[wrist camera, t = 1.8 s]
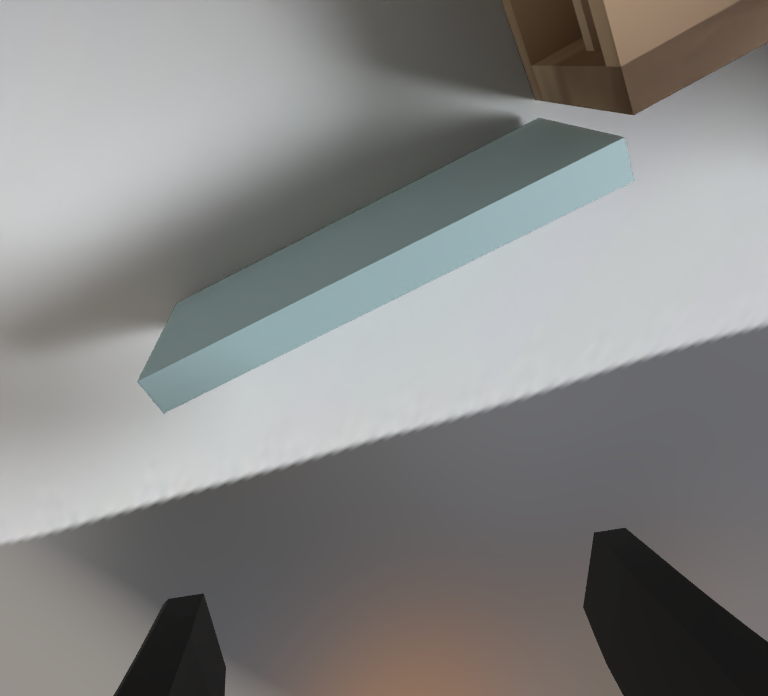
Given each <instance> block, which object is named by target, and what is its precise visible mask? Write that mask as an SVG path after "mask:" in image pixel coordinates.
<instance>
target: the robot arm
mask: <svg viewBox="0 0 768 696" xmlns="http://www.w3.org/2000/svg"><path fill="white" fill-rule="evenodd" d="M583 607H584V610H585V612H586V615H587V617H588V620H589V623H590V625H591V628H592V630H593V633H594V635H595V638H596V640H597V642H598V645H599V647H600V649H601V652H602V654H603V656H604V659H605V661H606V663H607V665H608V667H609V669H610V671H611V673H612V675H613V677H614V679H615V681H616V682H617V684H618V686H619V688H620V690H621V691H622V694H623V695H624V696H768V642H767V641H766V640H764V639H763V638H762V637H760V636H759V635H758V634H756V633H755V632H754V631H752V630H751V629H750V628H748V627H747V626H746V625H744V624H743V623H742V622H741V621H739V620H738V619H737V618H736V617H734V616H733V615H732V614H730V613H729V612H728V611H727V610H725V609H724V608H723V607H721V606H720V605H719V604H718V603H716V602H715V601H714V600H712V599H711V598H710V597H709V596H707V595H706V594H705V593H704V592H703V591H701V590H700V589H699V588H697V587H696V586H695V585H694V584H693V583H691V582H690V581H689V580H688V579H687V578H685V577H684V576H683V575H682V574H680V573H679V572H678V571H677V570H676V569H674V568H673V567H672V566H671V565H670V564H668V563H667V562H666V561H665V560H663V559H662V558H661V557H660V556H659V555H657V554H656V553H655V552H654V551H653V550H651V549H650V548H649V547H648V546H647V545H645V544H644V543H643V542H642V541H640V540H639V539H638V538H637V537H636V536H634V535H633V534H632V533H631V532H629V531H628V530H627V529H626V528H621V529H614V530H608V531H602V532H595V533H594V538H593V544H592V551H591V558H590V565H589V571H588V579H587V586H586V592H585V599H584V606H583ZM225 674H226V666H225V663H224V660H223V657H222V653H221V650H220V646H219V643H218V640H217V637H216V633H215V630H214V627H213V623H212V620H211V616H210V613H209V610H208V607H207V603H206V600H205V597H204V594H198V595H192V596H185V597H178V598H172V599H168V600H167V601H166V602H165V603H164V604H163V606H162V608H161V610H160V612H159V614H158V616H157V618H156V619H155V621H154V623H153V625H152V627H151V629H150V631H149V633H148V635H147V637H146V638H145V640H144V642H143V644H142V646H141V648H140V650H139V651H138V654H137V655H136V657H135V659H134V661H133V662H132V664H131V666H130V668H129V670H128V671H127V673H126V675H125V677H124V678H123V680H122V682H121V684H120V686H119V687H118V689H117V691H116V692H115V694H114V696H225Z"/></svg>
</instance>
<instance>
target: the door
mask: <svg viewBox="0 0 768 696" xmlns="http://www.w3.org/2000/svg"><path fill="white" fill-rule="evenodd" d="M633 181H635V179H634V175H633V171H632V167H631V163H630V158H629V154H628V150H627V146H626V142H625V137H621V136H617V135H612V134H608V133H604V132H599V131H595V130H590V129H586V128H581V127H577V126H573V125H568V124H564V123H559V122H555V121H551V120H546V119H542V118H537V119H536V120H534V121H532V122H530V123H528V124H526V125H524V126H522V127H520V128H518V129H516V130H514V131H512V132H510V133H508V134H506V135H504V136H502V137H500V138H498V139H496V140H494V141H493V142H491V143H489V144H487V145H485V146H483V147H481V148H479V149H477V150H475V151H473V152H471V153H469V154H467V155H465V156H463V157H461V158H459V159H457V160H455V161H453V162H451V163H450V164H448V165H446V166H444V167H442V168H440V169H438V170H436V171H434V172H432V173H430V174H428V175H426V176H424V177H422V178H420V179H418V180H416V181H414V182H412V183H410V184H408V185H407V186H405V187H403V188H401V189H399V190H397V191H395V192H393V193H391V194H389V195H387V196H385V197H383V198H381V199H379V200H377V201H375V202H373V203H371V204H369V205H367V206H365V207H364V208H362V209H360V210H358V211H356V212H354V213H352V214H350V215H348V216H346V217H344V218H342V219H340V220H338V221H336V222H334V223H332V224H330V225H328V226H326V227H324V228H322V229H321V230H319V231H317V232H315V233H313V234H311V235H309V236H307V237H305V238H303V239H301V240H299V241H297V242H295V243H293V244H291V245H289V246H287V247H285V248H283V249H281V250H279V251H278V252H276V253H274V254H272V255H270V256H268V257H266V258H264V259H262V260H260V261H258V262H256V263H254V264H252V265H250V266H248V267H246V268H244V269H242V270H240V271H238V272H236V273H235V274H233V275H231V276H229V277H227V278H225V279H223V280H221V281H219V282H217V283H215V284H213V285H211V286H209V287H207V288H205V289H203V290H201V291H199V292H197V293H195V294H193V295H192V296H190V297H188V298H186V299H184V300H182V301H180V302H178V303H177V304H176V306H175V308H174V310H173V312H172V314H171V316H170V318H169V320H168V322H167V324H166V326H165V328H164V330H163V332H162V333H161V335H160V337H159V339H158V341H157V343H156V345H155V347H154V349H153V351H152V353H151V355H150V357H149V359H148V361H147V363H146V365H145V367H144V369H143V371H142V373H141V375H140V377H139V379H138V381H137V382H138V383H139V384H140V386H141V387H142V388H143V389H144V390H145V392H146V393H147V394H148V395H149V397H150V398H151V399H152V400H153V401H154V403H155V404H156V405H157V406H158V407H159V409H160V410H161V411H162V412H163V413H165V412H167V411H169V410H171V409H173V408H175V407H177V406H179V405H182V404H184V403H186V402H188V401H190V400H192V399H194V398H196V397H198V396H200V395H202V394H204V393H206V392H208V391H210V390H212V389H214V388H216V387H218V386H220V385H222V384H224V383H226V382H228V381H230V380H232V379H234V378H236V377H238V376H240V375H242V374H244V373H246V372H248V371H250V370H252V369H254V368H256V367H258V366H260V365H262V364H265V363H267V362H269V361H271V360H273V359H275V358H277V357H279V356H281V355H283V354H285V353H287V352H289V351H291V350H293V349H295V348H297V347H299V346H301V345H303V344H305V343H307V342H309V341H311V340H313V339H315V338H317V337H319V336H321V335H323V334H325V333H327V332H329V331H331V330H333V329H335V328H337V327H339V326H341V325H343V324H345V323H348V322H350V321H352V320H354V319H356V318H358V317H360V316H362V315H364V314H366V313H368V312H370V311H372V310H374V309H376V308H378V307H380V306H382V305H384V304H386V303H388V302H390V301H392V300H394V299H396V298H398V297H400V296H402V295H404V294H406V293H408V292H410V291H412V290H414V289H416V288H418V287H420V286H422V285H424V284H426V283H429V282H431V281H433V280H435V279H437V278H439V277H441V276H443V275H445V274H447V273H449V272H451V271H453V270H455V269H457V268H459V267H461V266H463V265H465V264H467V263H469V262H471V261H473V260H475V259H477V258H479V257H481V256H483V255H485V254H487V253H489V252H491V251H493V250H495V249H497V248H499V247H501V246H503V245H505V244H507V243H509V242H512V241H514V240H516V239H518V238H520V237H522V236H524V235H526V234H528V233H530V232H532V231H534V230H536V229H538V228H540V227H542V226H544V225H546V224H548V223H550V222H552V221H554V220H556V219H558V218H560V217H562V216H564V215H566V214H568V213H570V212H572V211H574V210H576V209H578V208H580V207H582V206H584V205H586V204H588V203H590V202H592V201H595V200H597V199H599V198H601V197H603V196H605V195H607V194H609V193H611V192H613V191H615V190H617V189H619V188H621V187H623V186H625V185H627V184H629V183H631V182H633Z"/></svg>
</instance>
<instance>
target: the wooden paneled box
mask: <svg viewBox="0 0 768 696" xmlns="http://www.w3.org/2000/svg"><path fill="white" fill-rule="evenodd" d="M501 1H502V4H503V7H504V9H505V12H506V15H507V18H508V21H509V24H510V27H511V30H512V33H513V36H514V39H515V42H516V44H517V47H518V50H519V53H520V56H521V59H522V62H523V65H524V68H525V71H526V74H527V76H528V79H529V82H530V85H531V88H532V91H533V94H534V97H535V100H539V101H546V102H552V103H559V104H565V105H572V106H578V107H585V108H591V109H598V110H604V111H611V112H617V113H623V114H630V115H635V114H637V113H638V112H640V111H642V110H644V109H646V108H648V107H649V106H651V105H653V104H655V103H657V102H659V101H660V100H662V99H664V98H666V97H668V96H670V95H671V94H673V93H675V92H677V91H679V90H681V89H682V88H684V87H686V86H688V85H690V84H692V83H693V82H695V81H697V80H699V79H701V78H703V77H704V76H706V75H708V74H710V73H712V72H714V71H716V70H717V69H719V68H721V67H723V66H725V65H727V64H728V63H730V62H732V61H734V60H736V59H738V58H739V57H741V56H743V55H745V54H747V53H749V52H750V51H752V50H754V49H756V48H758V47H760V46H761V45H763V44H765V43H767V42H768V0H501Z"/></svg>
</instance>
